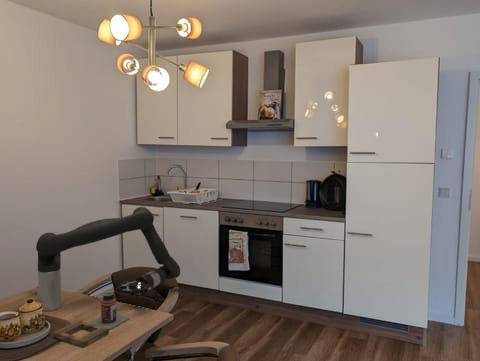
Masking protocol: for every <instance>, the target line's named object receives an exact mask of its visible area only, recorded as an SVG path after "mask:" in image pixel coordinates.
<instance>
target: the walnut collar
mask: <svg viewBox="0 0 480 361" xmlns="http://www.w3.org/2000/svg"><path fill="white" fill-rule="evenodd" d="M81 330H85V331H88V332H89V333H87V334H84V335H83V336H81V337H79V336H76V335H74V334H76V333H77V332H80V331H81ZM52 334H53V337H54V336H55V337H58V338H60V340H59V341H63V342H66V343H68V344H72V345H76V346H78V347H81V348H86V347H88V346H89V345H91V344H93V343H95V342H96V341H98V340H101V339H102V338H104V337H106V336H108V335H109V334H110V330H109V329H108V328H104V327H100V326H97V325H93V324H90V323H88V322H85V321H82V320H77V321H75V322H73V323H71V324H68V325H67V326H64V327H62V328H59V329H58V330H55V331H54V332H53V333H52Z"/></svg>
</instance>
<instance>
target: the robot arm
mask: <svg viewBox="0 0 480 361" xmlns="http://www.w3.org/2000/svg"><path fill="white" fill-rule="evenodd" d="M154 220H155V217H154V214H153V213H152V212H151V210H150V209H149V208H147V207H144V206H139V207H136V208H135V209H134V210H133V212H132V213H131V214H128V215H125V216H122V217H114V218H111V217H110V218H102V219H98V220H95V221H90V222H88V223H85V224H83V225H80V226H79V227H77V228H74V229H72V230H70V231H67V232H63V233H59V234H56V233H54V232H45V233H43V234H41V235H40V236H39V237H38V239H37V242H36V246H35V249H36V253H37V281H38V282H37V283H38V284H37V286H36V291H37V294H36V295H37V303H38V302H39V303H42V304H43V312H48V311H49V312H51V311H55V310H58V309H60V308H61V307H62V305H63V303H62V302H63V301H62V300H63V299H62V270H61V268H62V266H61V263H62V262H61V261H62V260H61V258H62V257H61V253H62V252H64V251H67V250H69V249H72V248H75V247H81V246H85V245H88V244H92V243H96V242H99V241H100V242H101V241H103V240H107V239H110V238H113V237H117V236H119V235H122V234H124V233H130V232H134V231H138V230H139V231H140V232H141V233H142V235H143V236H144V238H145V240H146V242H147V244H148V247H149V249H150V252H151V253H152V255H153V257H154V259H155V261H156V262H157V264H158V265H161V266H159V267H158V268H157V269H154V270H152V271H149V272H146V273H144V274H141V275H139V276H137V278H136V279H135V280H134V281H131V280H130V279H129V280H125V281H123V282H119V284H118V286H117V287H115V288H114V289H115V290H114V293H115V294H120V293H121V292H123V291H127V292H129V293H130V294H129V296H130V297H134V296H137V295H146V294H147V293H149V292H151V291H152V289H154V288H156V287H157V286H159V285H161V284H163V283H165V281H166V280H171V279H177V278H179V276H180V275H181V268H180V266H179V264H178V263H177V261H176V260H175V259H174V258H173V257H172V256H171V255H170V253H169V251H168V249H167V247H166V245H165V243H164V241H163V240H162V238H161V236H160V235H159V233H158V232H157V230H156V227H155V226H154Z"/></svg>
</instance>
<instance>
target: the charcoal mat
mask: <svg viewBox="0 0 480 361" xmlns="http://www.w3.org/2000/svg"><path fill="white" fill-rule="evenodd" d="M129 320H131V317H127V316H123V315H120V314H116V320H115V321H114V322H111V323H104V322H102V320H101V316H98V317H97V318H95V319H92V320H91V321H88V322H87V323H90V324H93V325H97V326H100V327H104V328H108V329H109V331H111V330H113V329H114V328H116V327H118V326H120V325H121V324H124V323H126V322H127V321H129Z"/></svg>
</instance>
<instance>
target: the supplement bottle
mask: <svg viewBox="0 0 480 361" xmlns="http://www.w3.org/2000/svg"><path fill="white" fill-rule="evenodd" d="M114 293H115V292H114ZM114 293H113V292H111V291H109V292H108V291H107V292H104V293H103V298H102V299H101V301H100V308H101V309H100V310H101V314H100V315H101V320H102V322H104V323H111V322H114V321H115V320H116V315H117V299H116V298H115V297H114Z"/></svg>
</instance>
